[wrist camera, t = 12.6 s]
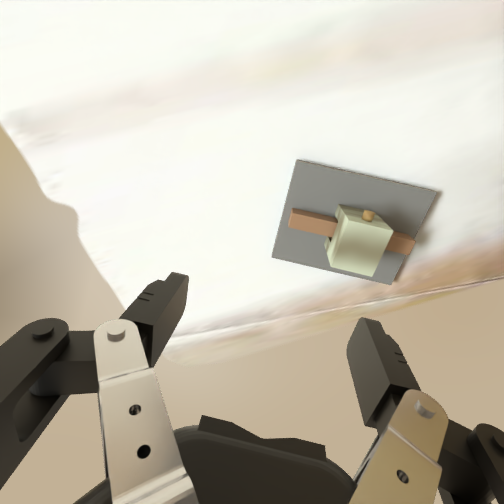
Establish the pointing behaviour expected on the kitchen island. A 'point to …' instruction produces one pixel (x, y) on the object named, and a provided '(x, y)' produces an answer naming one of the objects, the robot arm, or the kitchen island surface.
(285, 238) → the cleat board
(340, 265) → the sage block
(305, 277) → the kitchen island surface
